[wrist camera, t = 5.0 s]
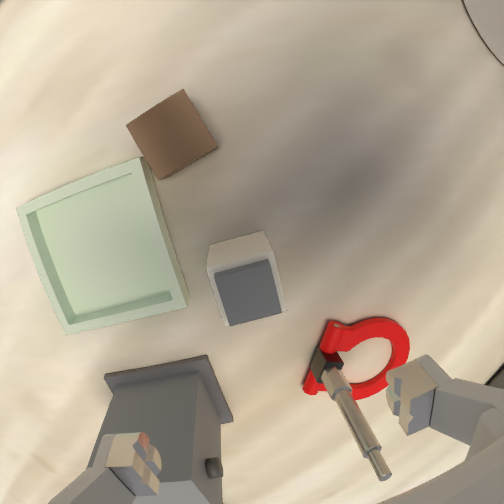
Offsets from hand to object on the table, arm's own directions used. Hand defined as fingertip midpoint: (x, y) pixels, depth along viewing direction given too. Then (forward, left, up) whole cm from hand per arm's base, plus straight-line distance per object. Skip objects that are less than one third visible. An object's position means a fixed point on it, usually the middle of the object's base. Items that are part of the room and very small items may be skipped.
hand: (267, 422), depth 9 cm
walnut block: (+2, -10, -16) cm, 19 cm away
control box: (+10, +11, -16) cm, 21 cm away
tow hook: (-8, +12, -16) cm, 22 cm away
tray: (+10, -4, -16) cm, 19 cm away
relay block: (0, 0, -16) cm, 16 cm away
